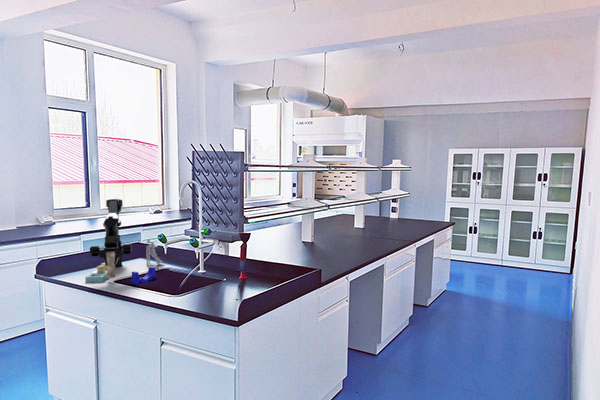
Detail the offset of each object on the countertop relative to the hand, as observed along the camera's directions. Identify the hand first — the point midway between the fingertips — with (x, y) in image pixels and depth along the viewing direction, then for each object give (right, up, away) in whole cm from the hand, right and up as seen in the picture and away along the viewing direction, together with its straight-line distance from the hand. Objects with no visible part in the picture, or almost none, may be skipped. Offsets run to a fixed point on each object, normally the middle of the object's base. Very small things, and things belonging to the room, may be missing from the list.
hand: (110, 264), depth 194 cm
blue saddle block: (+15, -9, +5) cm, 18 cm away
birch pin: (-1, -6, +2) cm, 7 cm away
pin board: (-10, -8, +10) cm, 17 cm away
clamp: (+9, -6, +35) cm, 37 cm away
